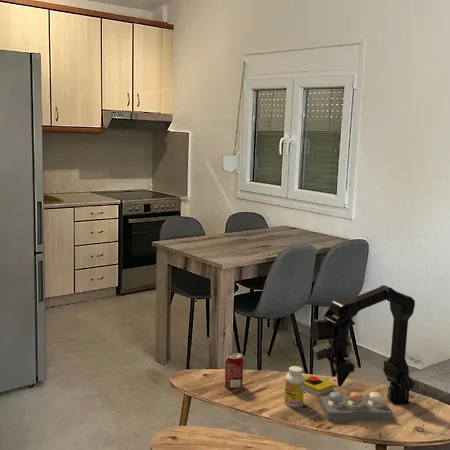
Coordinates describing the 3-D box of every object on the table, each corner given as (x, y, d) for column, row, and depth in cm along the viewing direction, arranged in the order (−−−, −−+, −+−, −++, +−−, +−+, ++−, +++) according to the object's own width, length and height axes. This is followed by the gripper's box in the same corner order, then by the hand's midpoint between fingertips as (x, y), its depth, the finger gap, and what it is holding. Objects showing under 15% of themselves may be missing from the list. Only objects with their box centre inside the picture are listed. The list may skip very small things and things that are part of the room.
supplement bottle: (280, 402, 206) (282, 368, 204) (291, 397, 210) (293, 363, 208) (295, 409, 201) (297, 373, 199) (306, 403, 206) (309, 368, 204)
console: (379, 404, 208) (380, 395, 207) (392, 420, 196) (393, 411, 195) (319, 404, 206) (319, 395, 205) (327, 420, 194) (328, 411, 193)
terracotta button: (360, 396, 202) (360, 392, 202) (364, 402, 198) (364, 397, 198) (347, 396, 202) (348, 392, 202) (351, 402, 198) (351, 397, 197)
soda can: (242, 390, 214) (243, 359, 213) (224, 389, 214) (225, 358, 213) (242, 382, 221) (243, 352, 219) (224, 381, 221) (225, 351, 219)
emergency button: (308, 369, 226) (340, 382, 215) (308, 380, 227) (339, 394, 216) (292, 375, 220) (324, 389, 209) (292, 386, 221) (323, 400, 210)
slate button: (340, 396, 202) (340, 391, 201) (343, 402, 197) (344, 397, 197) (327, 396, 201) (328, 391, 201) (331, 402, 197) (331, 397, 197)
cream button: (379, 396, 203) (380, 392, 203) (384, 402, 199) (384, 397, 198) (367, 396, 203) (367, 392, 202) (371, 402, 198) (371, 397, 198)
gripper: (310, 328, 205) (307, 370, 207) (322, 347, 187) (319, 393, 189) (341, 328, 206) (338, 370, 208) (356, 347, 187) (353, 393, 190)
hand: (336, 381), depth 199 cm, fingers open, 8 cm apart
